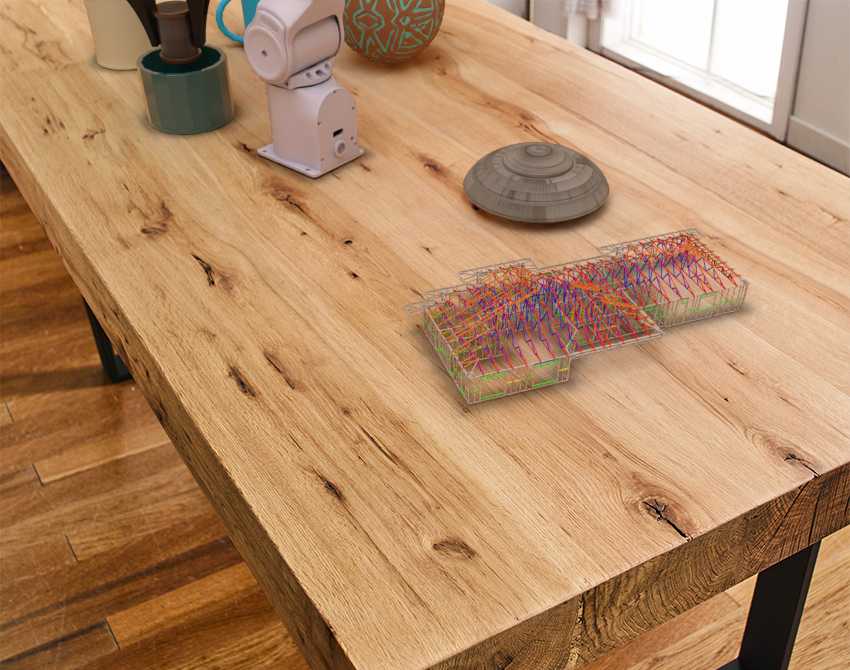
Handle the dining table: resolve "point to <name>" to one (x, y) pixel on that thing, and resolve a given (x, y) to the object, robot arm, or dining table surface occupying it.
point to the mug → (249, 11)
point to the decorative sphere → (391, 27)
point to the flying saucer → (536, 183)
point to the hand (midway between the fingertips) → (178, 44)
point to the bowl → (186, 92)
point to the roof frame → (567, 305)
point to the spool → (175, 32)
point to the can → (116, 33)
